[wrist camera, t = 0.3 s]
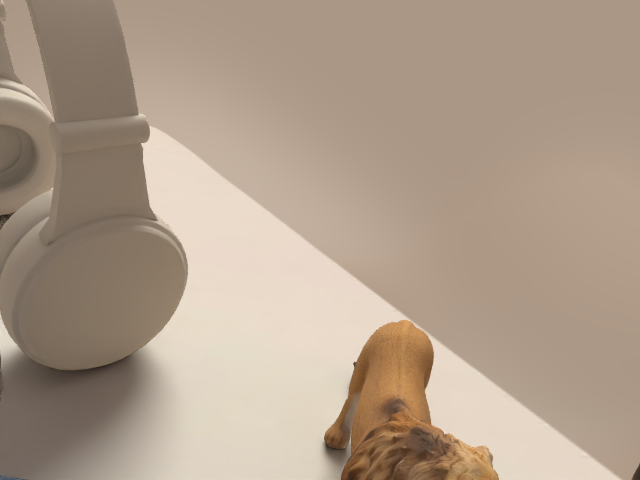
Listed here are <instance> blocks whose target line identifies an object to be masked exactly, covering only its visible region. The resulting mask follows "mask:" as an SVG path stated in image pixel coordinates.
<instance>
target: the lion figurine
mask: <svg viewBox="0 0 640 480" xmlns="http://www.w3.org/2000/svg"><path fill="white" fill-rule="evenodd" d="M433 358H434V352H433V347H432V343H431V341H430V340H429V338H428V336H427V335H426V334H425V333H424V332H423V331H421V330H420V329H418V328H416V327H415V326H414V325H413V323H412V322H410V321H407V320H402V321H399V322H391V323H388V324H386V325H384V326H382V327H380V328H379V329H378V330H376V331H375V332H374V334H373V335H372V336H371V337H370V338H369V340H368V341H367V342H366V344H365V346H364V347H363V349H362V351H361V354H360V356H359V358H358V360H357V362H354V363H353V365H354V371H353V375H352V379H351V382H350V387H349V394H348V399H347V400H346V401H345V404H344V406H343V409H342V411H341V413H340V415H339V417H338V418H337V420H336V421H335V423H334V424H333V425H332V426H331V427H330V428H329V429H328V430H327V431H326V433H325V436H324V440H325V442H326V443H327V445H328V446H330V447H333V448H337V449H343V448H345V447H346V446H347V445H348V443H349V440H350V436H351V454H352V456H351V457H350V459H349V460H348V462H347V464H346V465H345V467H344V469H343V472H342V476H341V480H499V478H498V474H497V472H496V471H495V470H494V469H493V465H492V460H493V456H492V454H491V453H490V452H489V449H488V448H487V447H486V446H479V447H476V448H474V447H470V446H468V445H466V444H465V443H463V442H462V441H460V440H458V439H456V438H455V437H454V436H453V435H452V434H445V435H444V432H443V431H442V430H441V429H439V428H437V427H435V426H432V425H431V419H430V412H429V407H428V403H427V399H426V395H425V388H426V387H427V384H428V381H429V378H430V374H431V369H432V365H433ZM351 431H352V432H351Z"/></svg>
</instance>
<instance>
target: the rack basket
mask: <svg viewBox="0 0 640 480" xmlns="http://www.w3.org/2000/svg"><path fill="white" fill-rule="evenodd" d="M0 480H25V479H19V478H13V477H7V476H1V475H0Z"/></svg>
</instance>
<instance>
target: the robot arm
mask: <svg viewBox="0 0 640 480" xmlns="http://www.w3.org/2000/svg"><path fill="white" fill-rule="evenodd" d="M2 391H3V383H2V370H1V356H0V401H1V397H2ZM632 480H640V464H639V466H638V468H637V470H636V472H635V474H634V475H633V478H632Z"/></svg>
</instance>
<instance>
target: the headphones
mask: <svg viewBox="0 0 640 480" xmlns="http://www.w3.org/2000/svg"><path fill="white" fill-rule="evenodd" d="M26 2H27V5H28V9H29V12H30V16H31V19H32V23H33V27H34V30H35V34H36V37H37V41H38V45H39V48H40V53H41V57H42V62H43V66H44V71H45V75H46V80H47V84H48V89H49V94H50V99H51V104H52V109H53V113H54V118H53V117H52V116H51V115H50V113H49V112H48V110H47V108H46V106H45V105H44V104H43V102H42V101H41V100H40V99H39V97H38V96H37V95H35V94H34V93H33V92H32V91H31V90H30V89H28V88H27V87H26V86H24V85H23V83H22V82H21V81H20V79H19V78H18V77H17V76H16V75H15V73H14V70H13V66H12V62H11V59H10V55H9V51H8V47H7V43H6V39H5V36H4V28H3V25H2V22H1V21H5V20H6V9H5V5H4V3H3V1H2V0H0V215H7V214H11V213H14V214H13V215H12V216H11V217H10V218H9V219H8V221H7V222H6V223H5V224H4V226H3V227H2V228H1V230H0V312H1V316H2V320H3V323H4V325H5V327H6V329H7V331H8V333H9V335H10V337H11V338H12V339H13V340H14V342H15V343H16V344H17V345H18V346H19V348H20V349H21V350H22V351H23V352H24V353H25V354H26V355H27V356H29V357H30V358H31V359H33V360H34V361H36V362H38V363H40V364H42V365H44V366H47V367H51V368H55V369H61V370H83V369H89V368H95V367H100V366H104V365H107V364H110V363H113V362H115V361H118V360H120V359H123V358H125V357H126V356H128V355H130V354H132V353H134V352H135V351H137V350H138V349H140V348H141V347H143V346H144V345H145V344H147V343H148V342H149V341H150V340H151V339H153V338H154V337H155V336H156V335H157V334H158V333H159V332H160V331H161V330H162V329H163V327H164V326H165V325H166V324H167V322H168V321H169V320H170V318H171V317H172V315H173V314H174V312H175V311H176V309H177V306H178V304H179V302H180V300H181V298H182V296H183V292H184V289H185V286H186V281H187V275H188V264H187V258H186V253H185V251H184V249H183V246H182V244H181V242H180V241H179V239H178V238H177V236H176V235H175V233H174V232H173V231H172V229H171V228H170V227H169V226H168V225H167V224H166V223H165V222H164V221H163V220H162V219H161V218H160V217H158V216H157V215H155V214H154V213H153V211H152V210H151V208H150V206H149V200H148V193H147V186H146V178H145V172H144V165H143V148H142V145H141V143H145V142H147V141H148V139H149V136H150V128H149V124H148V121H147V119H146V117H145V116H144V115H143V114H140V113H138V107H137V101H136V95H135V89H134V84H133V78H132V73H131V68H130V63H129V58H128V54H127V48H126V44H125V39H124V36H123V32H122V28H121V25H120V21H119V17H118V14H117V10H116V7H115V3H114V0H26ZM52 188H53V190H51V189H52Z"/></svg>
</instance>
